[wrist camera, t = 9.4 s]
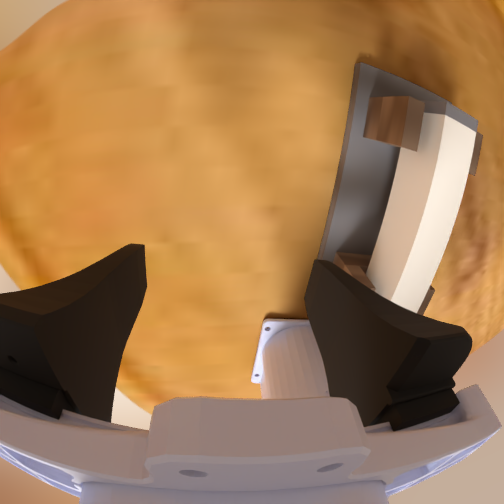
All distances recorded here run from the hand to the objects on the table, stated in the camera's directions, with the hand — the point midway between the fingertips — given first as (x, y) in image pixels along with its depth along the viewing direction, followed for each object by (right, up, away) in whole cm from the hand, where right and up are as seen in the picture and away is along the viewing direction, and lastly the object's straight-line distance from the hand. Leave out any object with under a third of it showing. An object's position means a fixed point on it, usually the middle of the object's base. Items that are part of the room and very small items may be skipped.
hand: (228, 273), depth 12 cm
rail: (+12, +4, +6) cm, 14 cm away
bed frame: (+12, +5, +9) cm, 15 cm away
